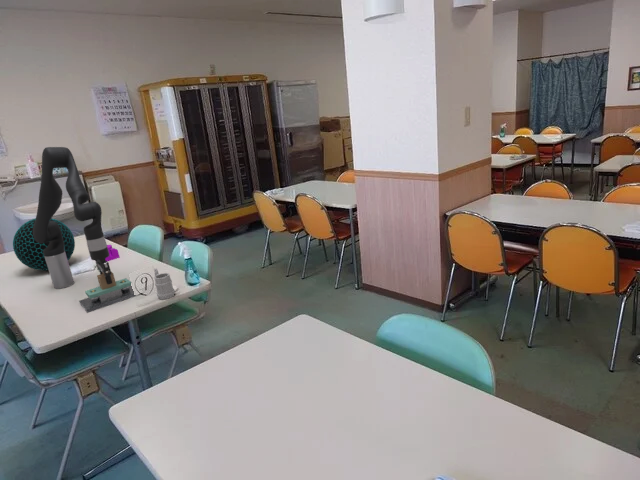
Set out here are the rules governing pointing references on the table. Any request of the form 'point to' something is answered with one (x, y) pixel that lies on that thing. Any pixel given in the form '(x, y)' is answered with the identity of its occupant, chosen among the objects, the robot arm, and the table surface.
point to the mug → (163, 285)
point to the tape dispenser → (112, 253)
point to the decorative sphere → (38, 245)
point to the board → (100, 292)
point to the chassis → (107, 299)
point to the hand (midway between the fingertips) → (107, 281)
